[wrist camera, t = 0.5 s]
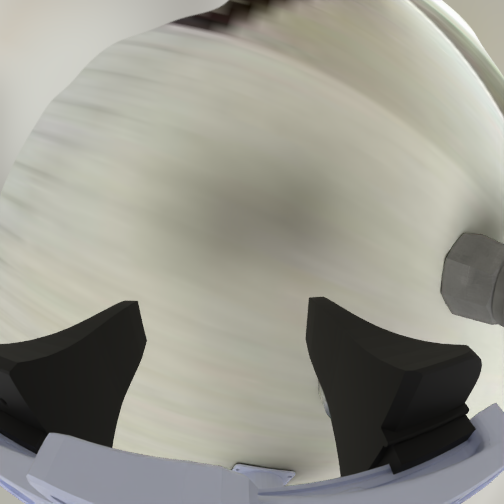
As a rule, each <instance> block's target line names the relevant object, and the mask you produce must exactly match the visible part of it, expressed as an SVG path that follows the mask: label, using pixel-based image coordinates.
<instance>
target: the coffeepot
mask: <svg viewBox="0 0 504 504" xmlns="http://www.w3.org/2000/svg"><path fill="white" fill-rule="evenodd" d="M441 284H442V291H441V294H442V296H443V298H444V301H445V303H446V304H447V306H448V307H449V309H450V310H451V312H452V314H454V315H458V316H462V317H465V318H469V319H473V320H476V321H480V322H484V323H488V324H491V325H494V324H499V325H501V326H503V327H504V244H502V243H500V242H498V241H496V240H494V239H491V238H489V237H487V236H485V235H481V234H469V233H463V235H462V236H461V237H460V238H459V239H458V240H457V241H456V243H455V244H454V245H453V246H452V248H451V250H450V251H449V254H448V256H447V257H446V260H445V264H444V268H443V273H442V282H441Z"/></svg>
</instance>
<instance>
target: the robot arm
mask: <svg viewBox="0 0 504 504" xmlns="http://www.w3.org/2000/svg"><path fill="white" fill-rule="evenodd" d="M146 341H147V340H146V336H145V332H144V327H143V323H142V319H141V314H140V310H139V305H138V301H123V302H120V303H118V304H116V305H114V306H112V307H110V308H108V309H106V310H104V311H102V312H100V313H98V314H96V315H94V316H93V317H91V318H89V319H87V320H85V321H83V322H80V323H78V324H76V325H74V326H72V327H70V328H68V329H65V330H63V331H60V332H57V333H55V334H52V335H48V336H45V337H41V338H37V339H34V340H29V341H24V342H18V343H11V344H0V486H1V487H3V488H4V489H5V490H7V491H8V492H10V493H11V494H12V495H14V496H15V497H16V498H18V499H19V500H21V501H22V502H24V503H25V504H461V503H463V502H464V501H465V500H467V499H468V498H470V497H471V496H473V495H474V494H476V493H477V492H479V491H480V490H481V489H483V488H484V487H485V486H487V485H488V484H489V483H490V482H491V481H493V480H494V479H495V478H496V477H497V476H498V475H499V474H500V473H501V472H502V471H504V412H503V411H502V409H501V408H500V407H499V406H498V404H497V403H494V404H492V405H491V406H489V407H487V408H486V409H484V410H482V411H481V412H479V413H478V414H476V415H475V416H474V417H473V418H472V419H471V420H469V419H468V417H467V416H466V415H465V414H467V413H468V412H469V408H468V407H467V405H466V404H465V401H466V400H467V398H468V396H469V395H470V393H471V391H472V389H473V388H474V386H475V384H476V382H477V380H478V378H479V375H480V372H481V367H482V363H481V359H480V358H479V356H478V355H477V354H476V353H475V352H474V351H473V350H472V349H471V348H470V347H469V346H467V345H453V344H440V343H433V342H427V341H422V340H417V339H413V338H409V337H406V336H402V335H399V334H396V333H393V332H390V331H388V330H385V329H382V328H380V327H378V326H375V325H373V324H371V323H369V322H367V321H365V320H363V319H361V318H359V317H358V316H356V315H354V314H352V313H351V312H349V311H347V310H345V309H344V308H342V307H341V306H339V305H337V304H336V303H334V302H332V301H331V300H329V299H327V298H325V297H313V298H309V305H308V318H307V329H306V343H307V347H308V352H309V356H310V359H311V362H312V364H313V367H314V370H315V372H316V375H317V377H318V380H319V383H320V385H321V388H322V390H323V393H324V395H325V398H326V401H327V405H328V409H329V413H330V417H331V421H332V426H333V431H334V436H335V441H336V446H337V452H338V459H339V465H340V473H341V477H340V478H335V479H330V480H325V481H319V482H313V483H307V484H299V485H291V486H285V485H286V484H287V483H288V482H289V481H290V480H291V479H292V478H293V477H294V476H295V472H294V471H285V470H276V469H268V468H261V467H255V466H249V465H243V464H236V465H235V466H234V467H233V469H232V470H230V469H227V468H224V467H222V466H217V465H210V464H204V463H198V462H192V461H185V460H176V459H168V458H160V457H154V456H148V455H142V454H137V453H132V452H127V451H122V450H118V449H114V448H112V446H113V439H114V434H115V429H116V425H117V420H118V417H119V413H120V409H121V406H122V402H123V400H124V397H125V395H126V392H127V390H128V388H129V386H130V383H131V381H132V379H133V377H134V375H135V372H136V370H137V368H138V366H139V364H140V361H141V359H142V356H143V352H144V349H145V345H146Z"/></svg>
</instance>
